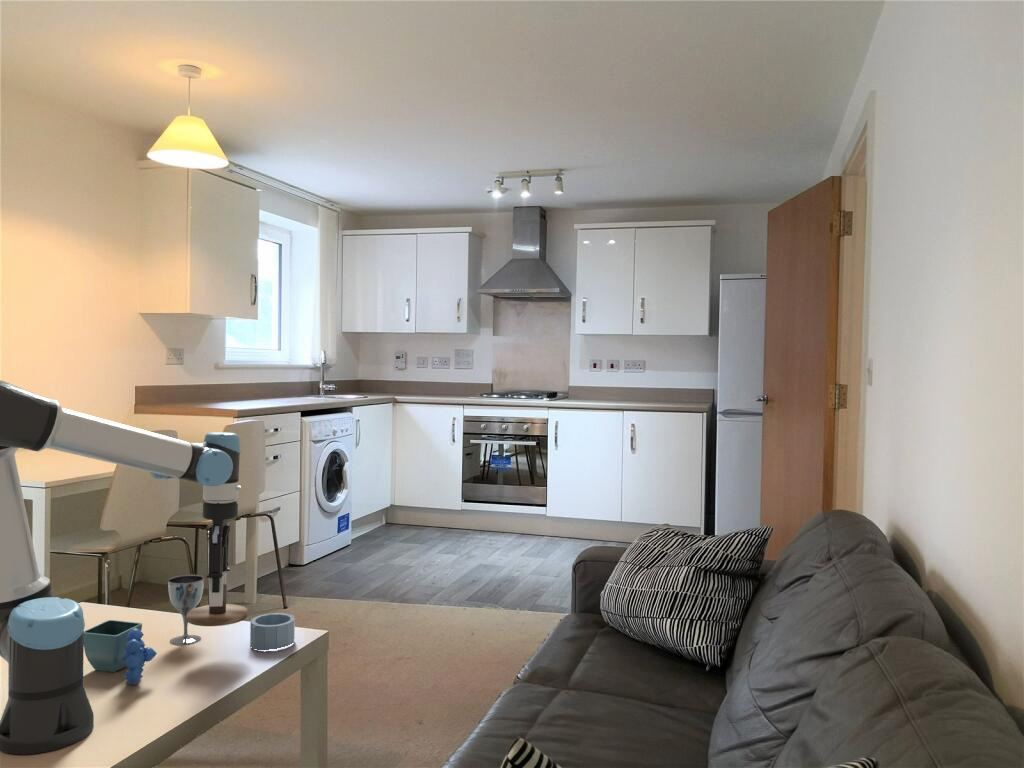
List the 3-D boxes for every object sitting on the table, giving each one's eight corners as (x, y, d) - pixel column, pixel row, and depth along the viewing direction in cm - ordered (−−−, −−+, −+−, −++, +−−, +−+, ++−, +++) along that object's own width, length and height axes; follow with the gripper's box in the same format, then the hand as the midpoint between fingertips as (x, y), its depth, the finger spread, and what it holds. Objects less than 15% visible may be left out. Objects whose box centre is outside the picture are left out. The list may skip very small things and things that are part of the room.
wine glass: (197, 632, 198) (198, 572, 197) (207, 641, 191) (207, 580, 191) (164, 638, 193) (164, 577, 192) (172, 648, 186) (173, 585, 186)
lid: (241, 625, 174) (242, 593, 174) (179, 626, 172) (180, 593, 172) (251, 608, 187) (252, 578, 187) (194, 609, 185) (195, 578, 185)
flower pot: (116, 677, 169) (116, 635, 169) (80, 673, 171) (80, 632, 170) (143, 662, 177) (143, 622, 177) (108, 658, 179) (109, 619, 179)
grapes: (155, 692, 162) (155, 633, 161) (118, 696, 159) (118, 637, 159) (157, 671, 172) (158, 616, 172) (123, 675, 170) (123, 619, 170)
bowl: (292, 650, 186) (292, 625, 186) (248, 652, 184) (248, 627, 184) (295, 636, 196) (296, 612, 196) (253, 638, 194) (253, 614, 194)
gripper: (232, 506, 172) (229, 613, 172) (243, 495, 188) (240, 592, 188) (195, 506, 171) (192, 614, 171) (210, 494, 187) (207, 593, 187)
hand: (217, 603), depth 180 cm, fingers closed on lid, 4 cm apart
